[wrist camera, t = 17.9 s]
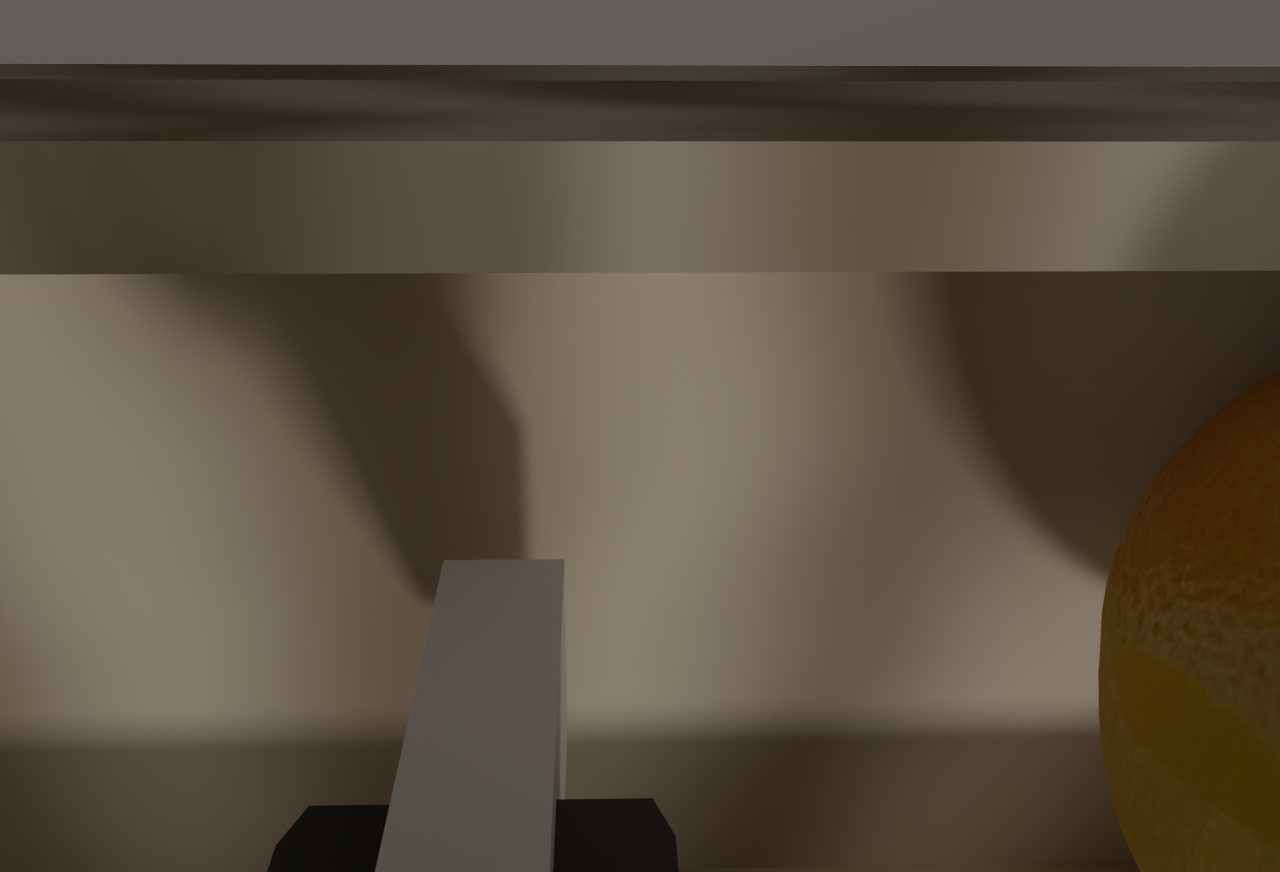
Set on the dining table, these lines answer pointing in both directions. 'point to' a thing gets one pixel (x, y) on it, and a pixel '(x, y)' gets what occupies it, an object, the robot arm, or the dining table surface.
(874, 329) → the channel
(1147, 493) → the fruit
